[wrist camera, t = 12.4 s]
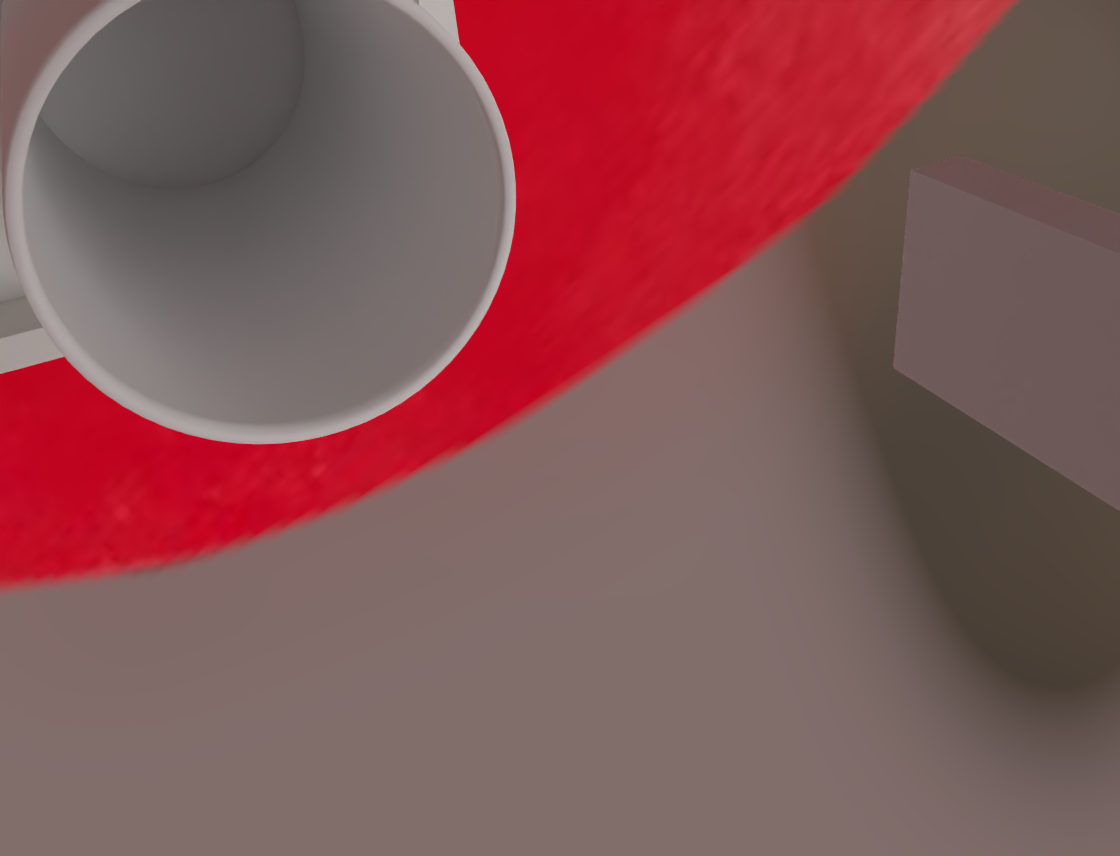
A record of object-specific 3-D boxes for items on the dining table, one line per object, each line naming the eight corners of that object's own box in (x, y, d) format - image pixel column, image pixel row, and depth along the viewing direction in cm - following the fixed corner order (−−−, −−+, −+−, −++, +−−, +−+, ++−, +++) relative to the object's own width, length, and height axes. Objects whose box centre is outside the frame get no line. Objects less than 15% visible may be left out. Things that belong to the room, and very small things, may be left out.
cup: (206, -173, 28) (379, -158, 15) (360, 103, 33) (585, 286, 20) (-74, -16, 27) (-139, 138, 14) (129, 243, 32) (214, 527, 19)
